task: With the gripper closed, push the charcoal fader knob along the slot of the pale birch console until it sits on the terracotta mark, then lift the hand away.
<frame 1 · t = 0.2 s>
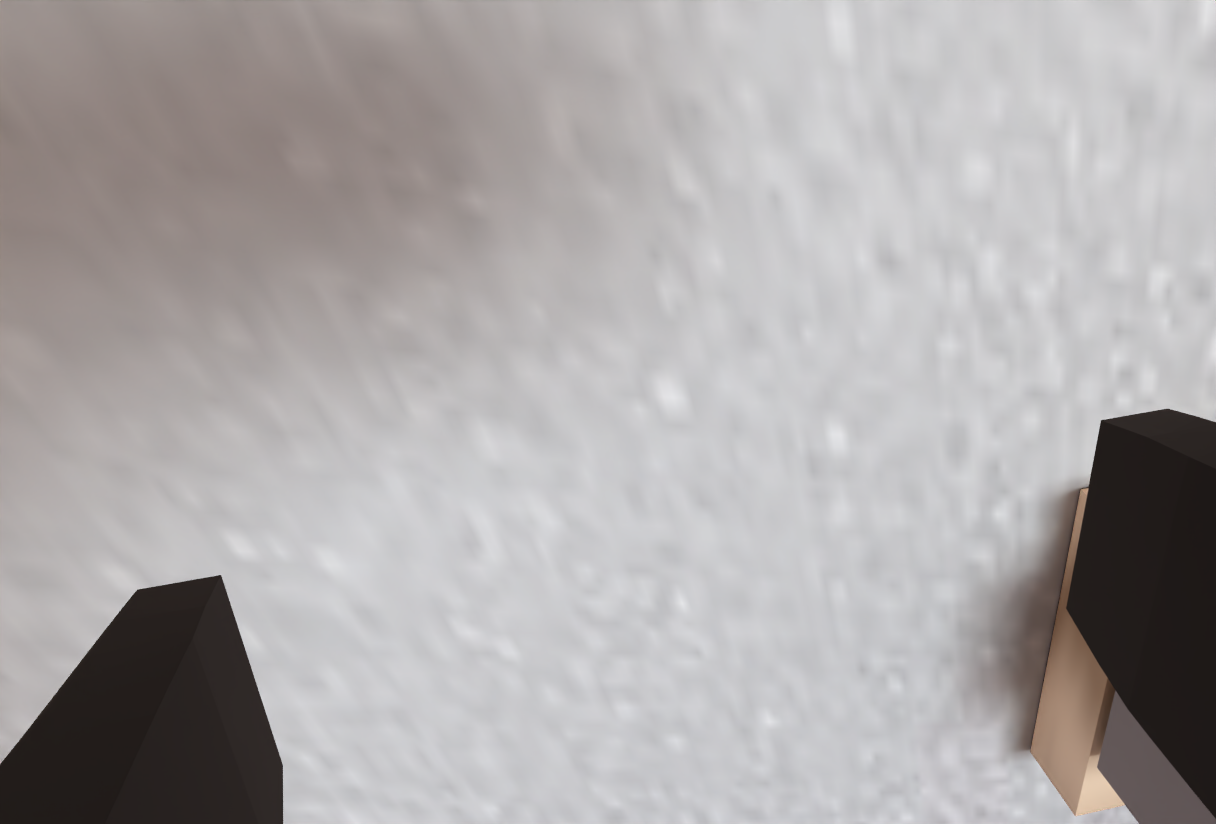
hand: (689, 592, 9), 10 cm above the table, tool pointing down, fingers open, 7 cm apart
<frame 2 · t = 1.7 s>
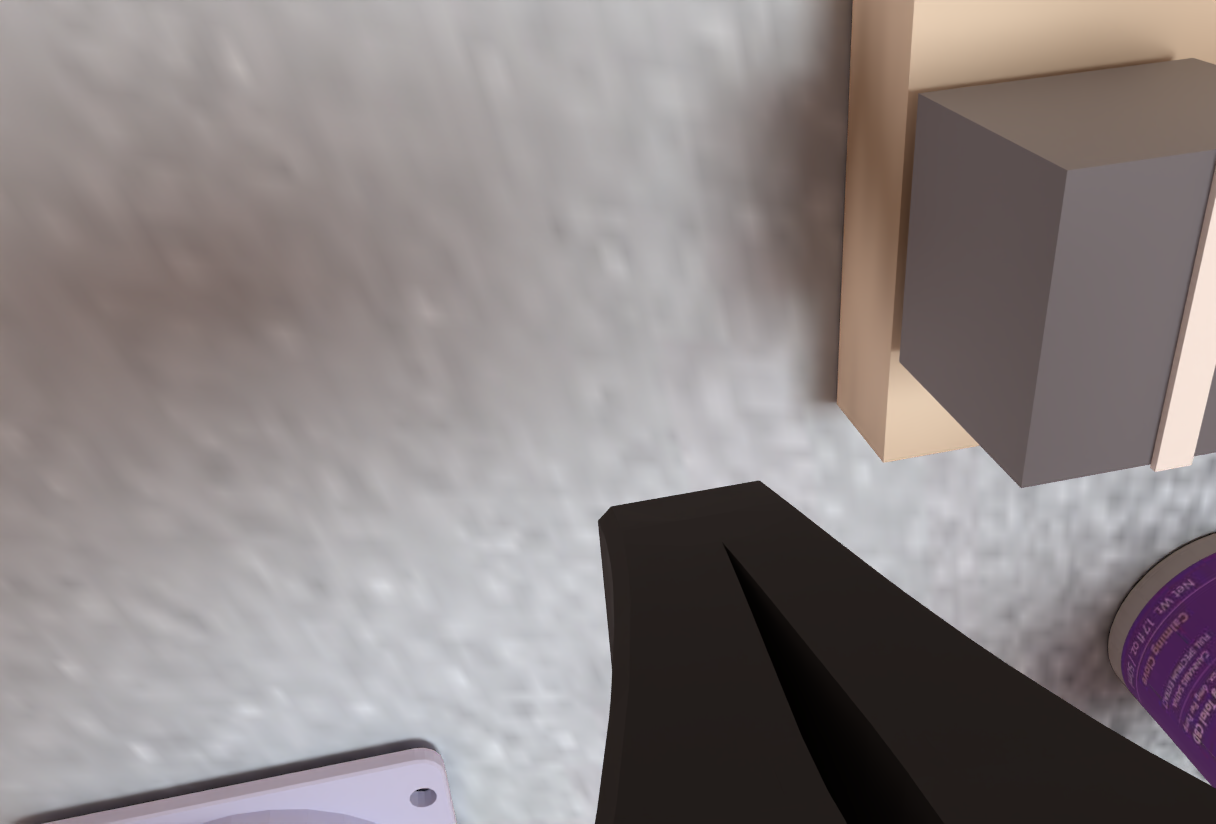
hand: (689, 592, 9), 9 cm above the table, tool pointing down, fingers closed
fader knob: (1114, 262, 14), point 4 cm above the table, slide at 0.0 cm
container: (1198, 607, 24), on the table
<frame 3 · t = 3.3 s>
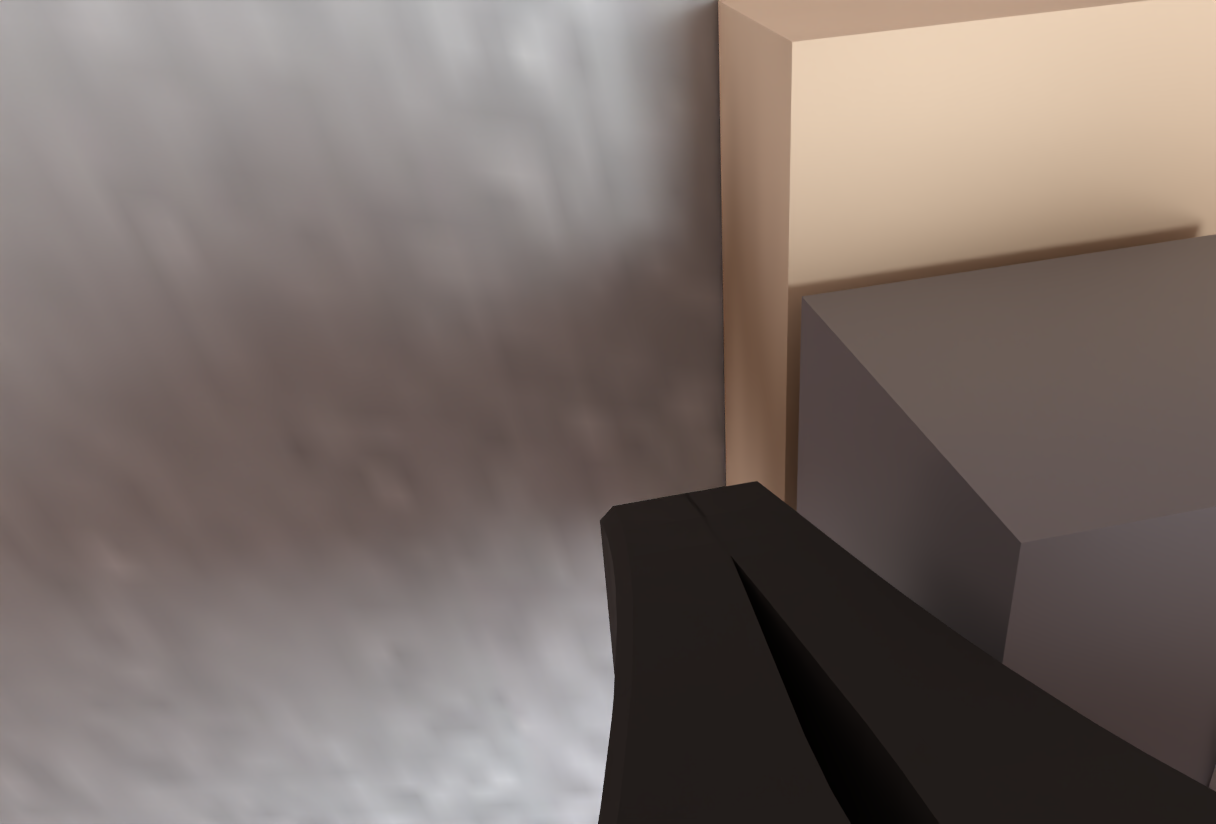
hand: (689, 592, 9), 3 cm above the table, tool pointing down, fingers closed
fader knob: (1109, 573, 9), point 4 cm above the table, slide at 0.0 cm, touching gripper
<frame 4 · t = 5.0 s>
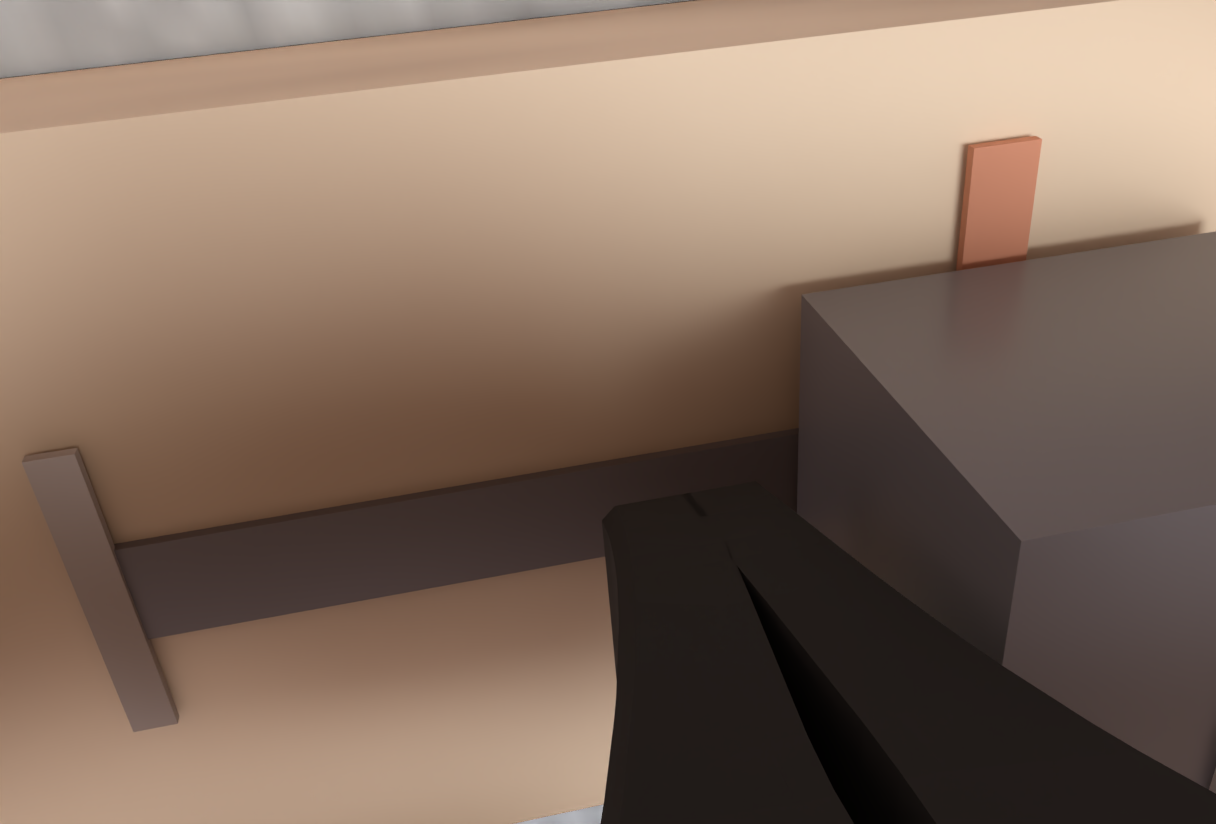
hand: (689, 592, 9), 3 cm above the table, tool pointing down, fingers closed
fader knob: (1110, 571, 9), point 4 cm above the table, slide at 8.2 cm, touching gripper
fader console: (621, 395, 12), on the table
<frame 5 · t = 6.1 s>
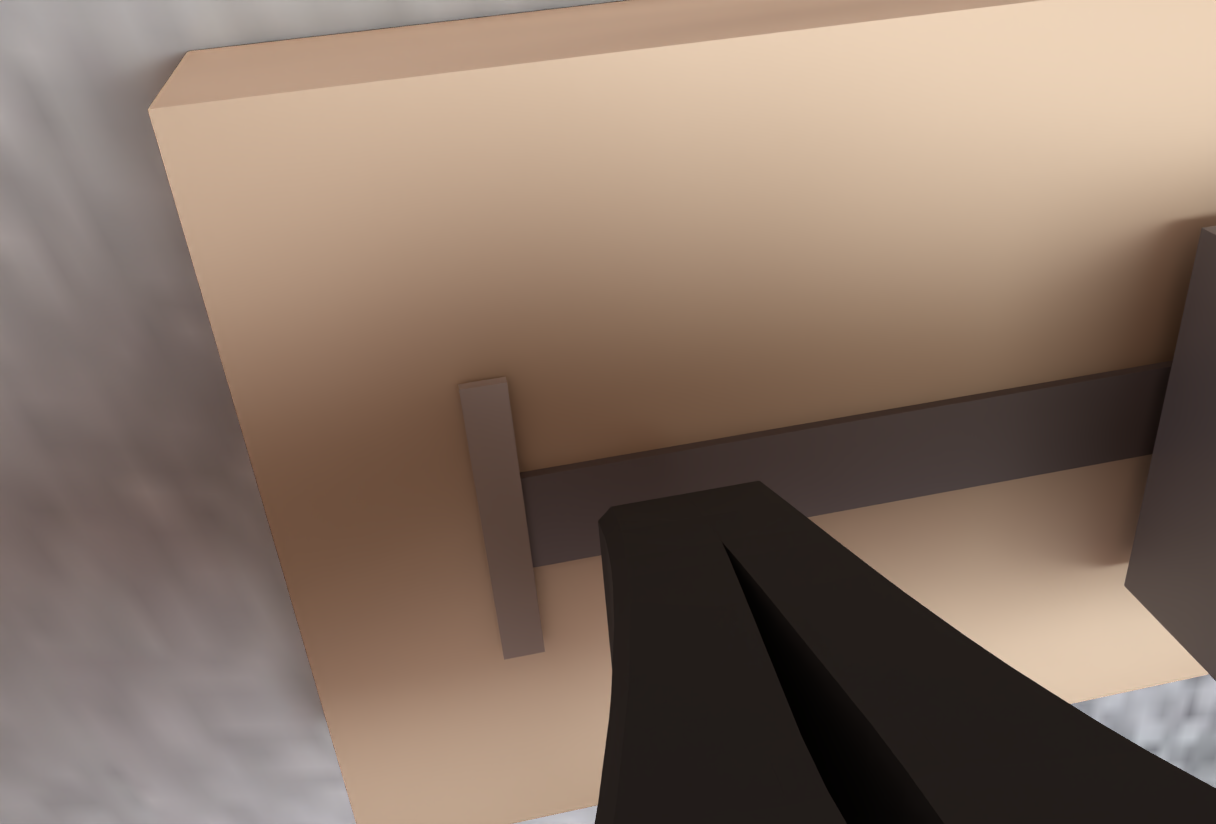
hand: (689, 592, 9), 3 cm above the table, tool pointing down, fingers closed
fader console: (923, 342, 12), on the table
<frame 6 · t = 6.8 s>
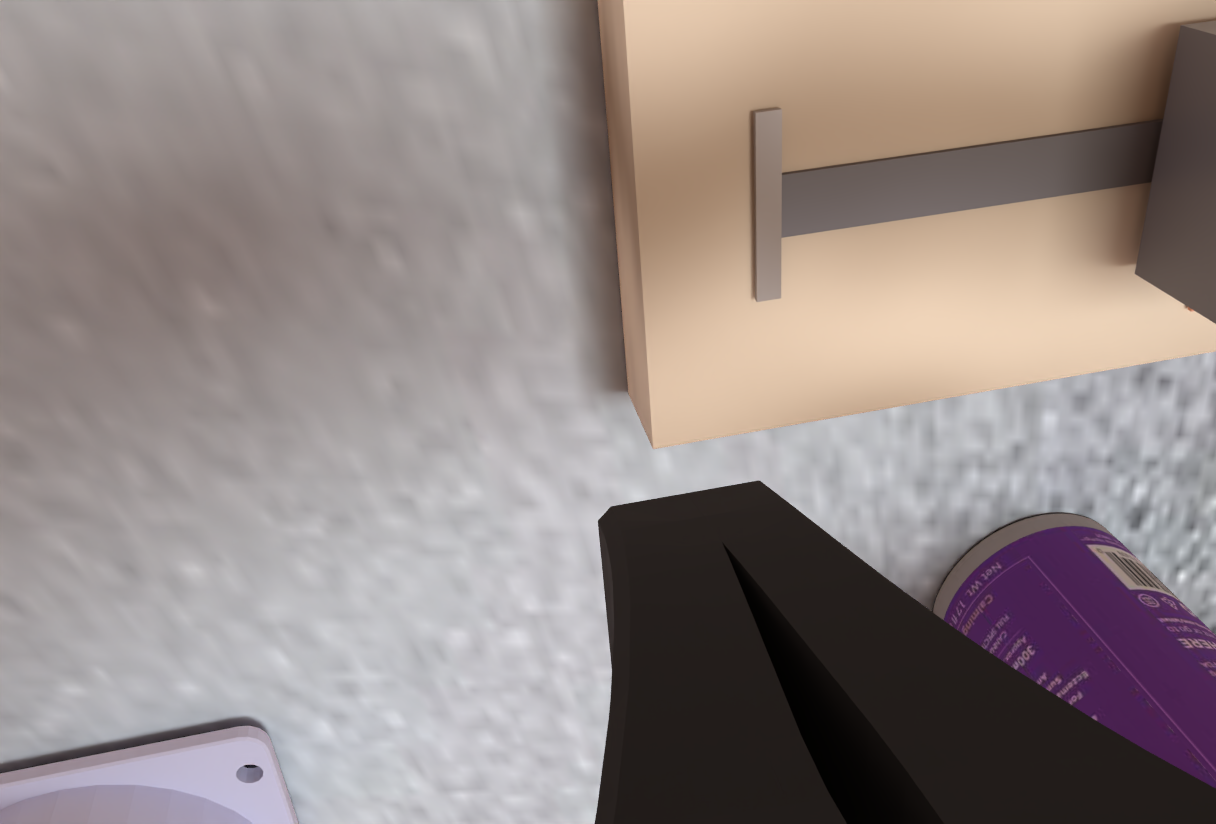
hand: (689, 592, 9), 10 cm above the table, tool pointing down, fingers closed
container: (1021, 590, 25), on the table
fader console: (1003, 129, 19), on the table
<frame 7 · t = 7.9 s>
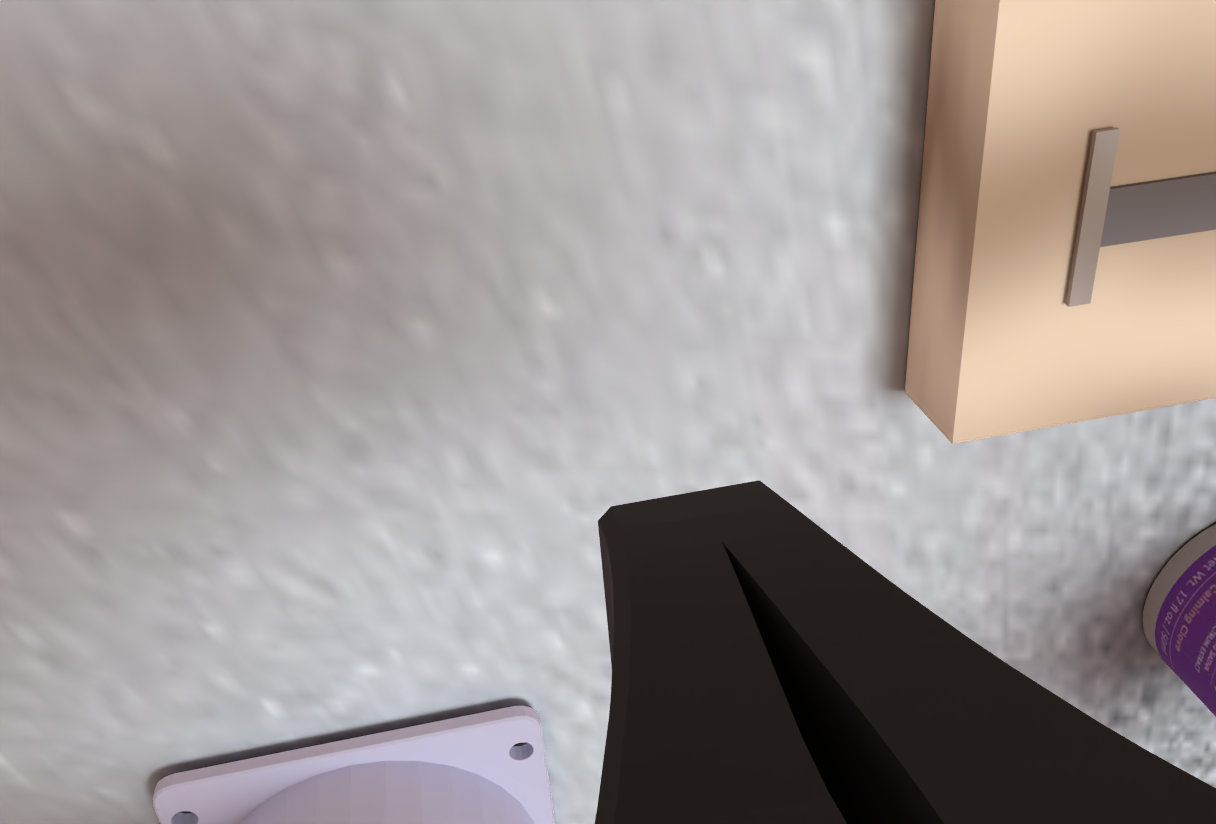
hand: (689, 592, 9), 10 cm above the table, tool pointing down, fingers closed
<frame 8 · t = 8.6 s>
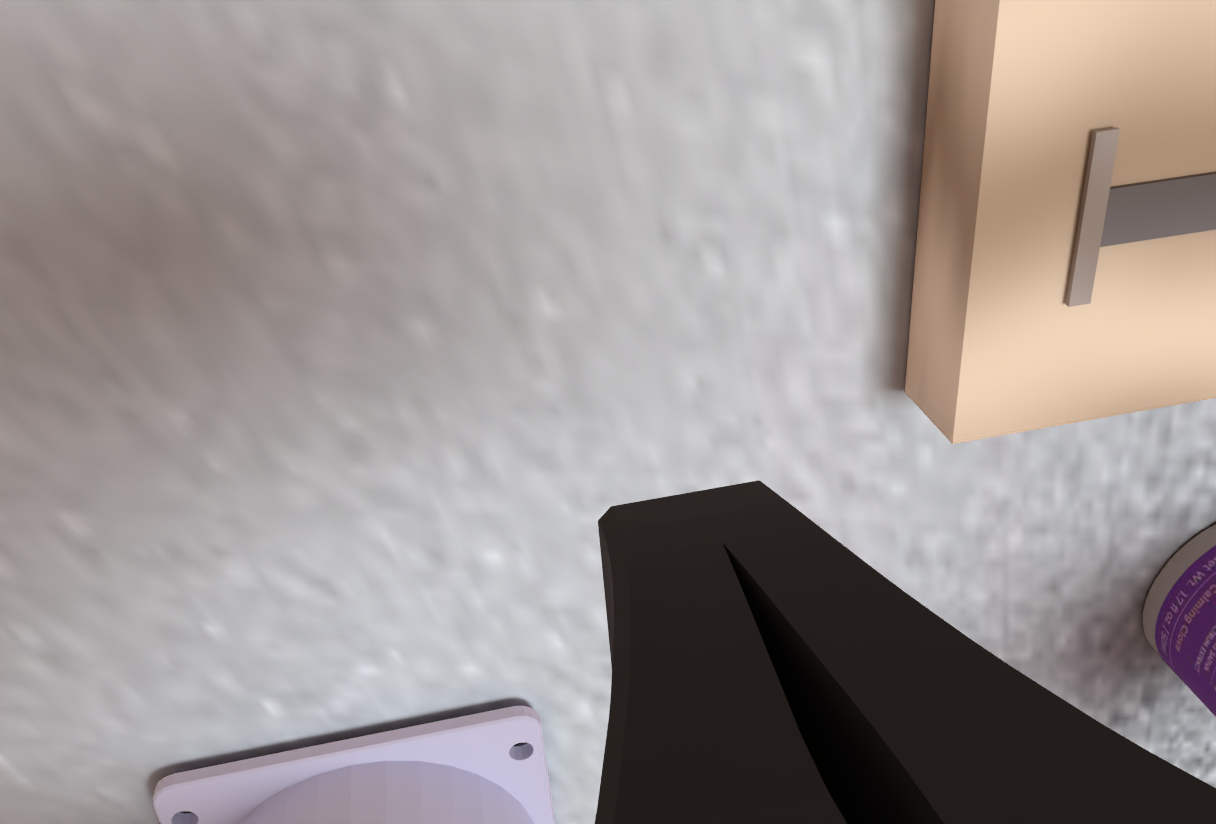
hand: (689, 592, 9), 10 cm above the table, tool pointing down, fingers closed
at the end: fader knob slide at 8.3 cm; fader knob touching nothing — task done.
